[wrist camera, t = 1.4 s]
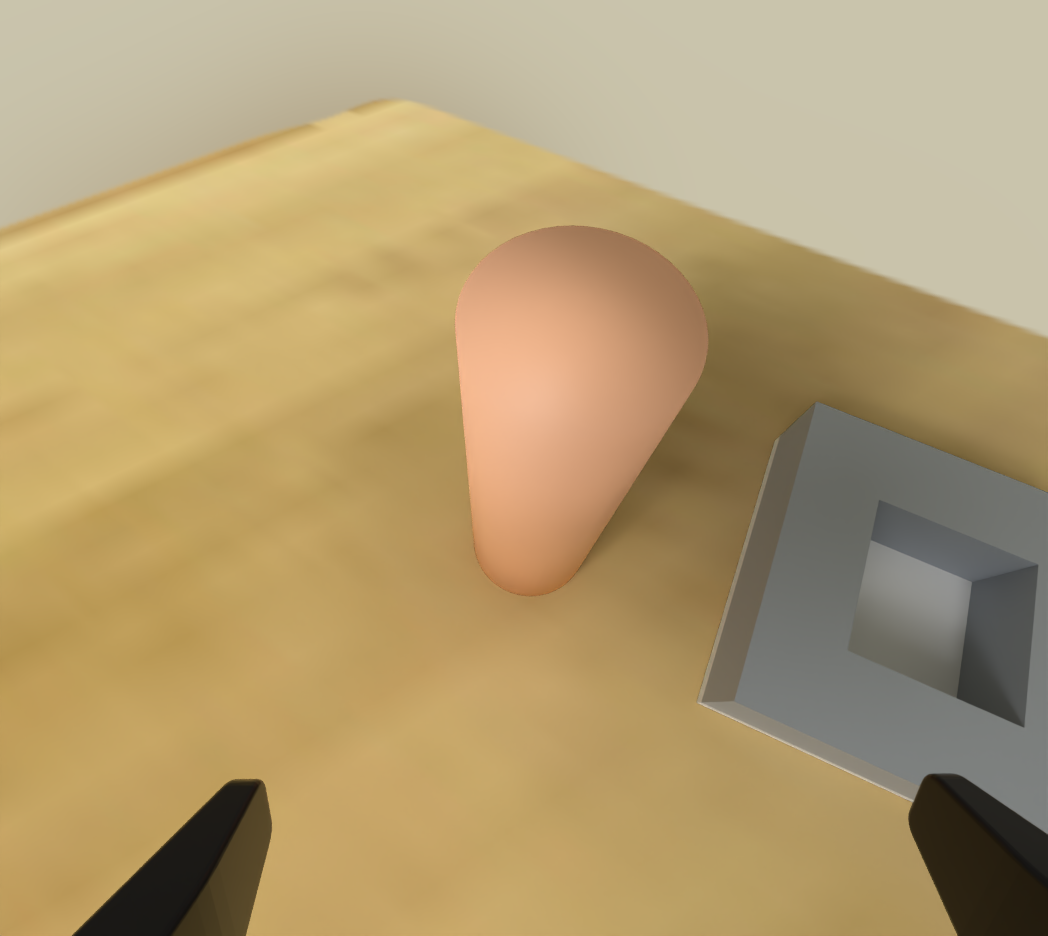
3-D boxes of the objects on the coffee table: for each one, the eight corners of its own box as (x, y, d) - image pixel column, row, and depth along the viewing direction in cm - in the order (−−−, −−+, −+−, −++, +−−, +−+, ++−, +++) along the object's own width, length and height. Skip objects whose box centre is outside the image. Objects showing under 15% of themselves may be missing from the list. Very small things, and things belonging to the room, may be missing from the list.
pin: (502, 615, 22) (522, 479, 9) (456, 512, 23) (416, 268, 10) (605, 567, 23) (756, 380, 10) (555, 471, 24) (631, 199, 11)
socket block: (1016, 850, 20) (1119, 877, 17) (696, 702, 21) (734, 701, 18) (1042, 549, 24) (1128, 524, 21) (774, 440, 25) (816, 401, 22)
